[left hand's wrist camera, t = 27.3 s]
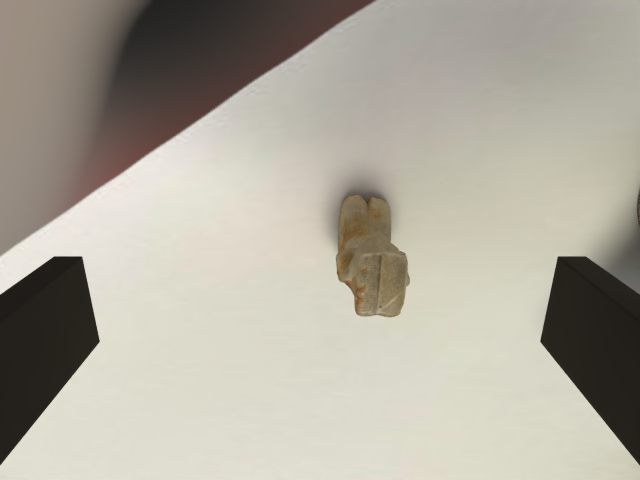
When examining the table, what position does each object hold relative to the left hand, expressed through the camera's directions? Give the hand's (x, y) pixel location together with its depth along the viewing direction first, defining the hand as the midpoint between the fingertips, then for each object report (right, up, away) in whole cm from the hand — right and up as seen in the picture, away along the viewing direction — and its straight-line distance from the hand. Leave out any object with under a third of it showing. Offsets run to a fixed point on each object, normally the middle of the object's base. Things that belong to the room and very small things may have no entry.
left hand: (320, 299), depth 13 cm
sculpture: (+4, +3, +32) cm, 32 cm away
